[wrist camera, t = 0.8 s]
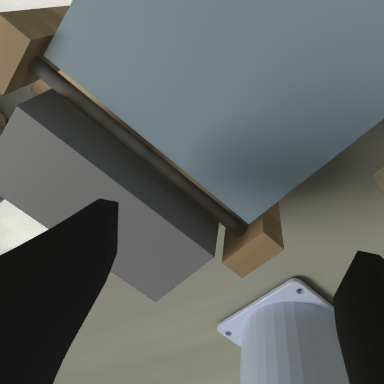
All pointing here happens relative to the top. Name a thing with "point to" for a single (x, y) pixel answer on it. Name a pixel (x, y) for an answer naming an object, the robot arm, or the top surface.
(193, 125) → the trapdoor
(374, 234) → the top surface
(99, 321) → the top surface
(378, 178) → the block
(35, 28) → the frame
